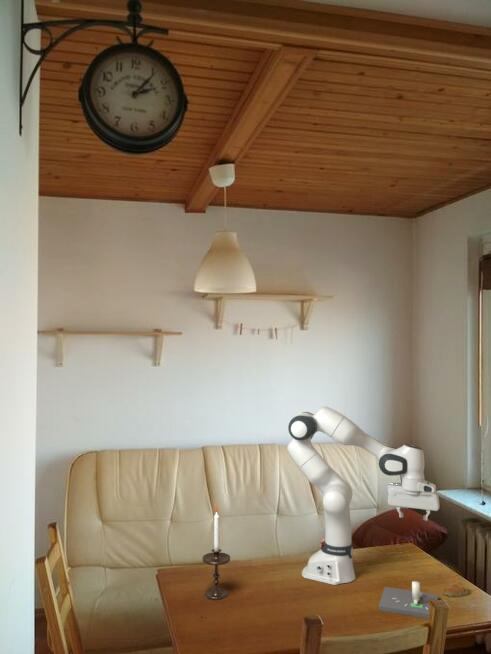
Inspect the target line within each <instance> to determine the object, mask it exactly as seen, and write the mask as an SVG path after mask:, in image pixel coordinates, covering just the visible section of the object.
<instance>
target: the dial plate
mask: <svg viewBox="0 0 491 654" xmlns="http://www.w3.org/2000/svg"><path fill="white" fill-rule="evenodd" d="M430 600H438V601H439V594H437V593H436V594H435V593H428V592H423V598H420V600H419V601H418V603H417V604H414V600H413V599H412V590H409V589H408V590H407V589H401V588H396V587H390V586H389V587H387V586H384V588H383V591H382V595H381V598H380V600H379V604H378V611H382V612H386V613H387V612H388V613H393V614H399V615H405V616H412V617H417V618H423V619H429V610H430V606H429V601H430ZM429 620H430V619H429Z"/></svg>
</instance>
